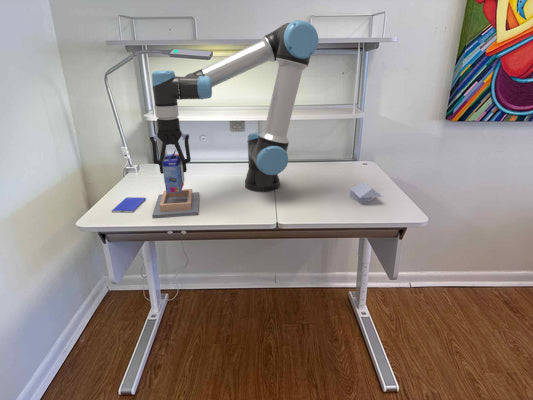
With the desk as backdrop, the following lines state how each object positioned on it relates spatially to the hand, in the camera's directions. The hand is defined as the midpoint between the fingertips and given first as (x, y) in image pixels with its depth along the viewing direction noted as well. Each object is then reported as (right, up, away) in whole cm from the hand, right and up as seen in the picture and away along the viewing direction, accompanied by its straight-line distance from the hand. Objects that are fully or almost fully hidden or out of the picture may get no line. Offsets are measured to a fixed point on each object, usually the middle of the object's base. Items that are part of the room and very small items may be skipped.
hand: (174, 180), depth 134 cm
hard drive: (-18, -10, +4) cm, 21 cm away
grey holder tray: (0, -9, +4) cm, 10 cm away
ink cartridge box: (0, -3, +1) cm, 3 cm away
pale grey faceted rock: (+72, -7, +8) cm, 73 cm away
